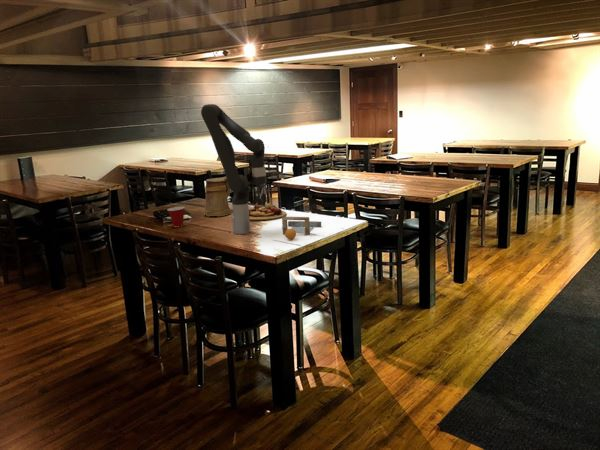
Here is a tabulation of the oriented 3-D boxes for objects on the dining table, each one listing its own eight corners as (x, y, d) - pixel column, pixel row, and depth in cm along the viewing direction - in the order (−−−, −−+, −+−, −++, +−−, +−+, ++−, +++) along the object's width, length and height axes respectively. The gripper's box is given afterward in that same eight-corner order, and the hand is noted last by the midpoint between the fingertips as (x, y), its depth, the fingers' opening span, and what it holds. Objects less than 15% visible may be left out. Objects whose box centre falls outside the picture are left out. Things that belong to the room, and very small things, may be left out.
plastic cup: (175, 224, 320) (173, 205, 318) (190, 224, 317) (188, 206, 314) (165, 228, 311) (163, 209, 308) (180, 228, 307) (178, 209, 304)
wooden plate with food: (242, 224, 313) (241, 211, 311) (235, 214, 343) (234, 202, 341) (291, 220, 321) (291, 207, 319) (280, 210, 351) (280, 198, 349)
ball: (283, 240, 268) (283, 229, 267) (287, 237, 274) (286, 227, 273) (294, 241, 267) (294, 230, 265) (297, 238, 272) (297, 227, 271)
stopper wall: (288, 226, 299) (287, 221, 298) (289, 225, 301) (288, 220, 300) (320, 227, 294) (320, 222, 293) (321, 226, 296) (321, 221, 295)
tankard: (198, 216, 341) (194, 180, 335) (221, 209, 359) (218, 175, 354) (218, 218, 331) (214, 181, 325) (241, 211, 350) (238, 176, 344)
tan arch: (308, 235, 277) (307, 218, 275) (282, 234, 281) (281, 217, 279) (310, 233, 280) (309, 217, 278) (284, 233, 284) (283, 216, 282)
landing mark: (286, 232, 285) (286, 232, 285) (293, 227, 297) (293, 227, 297) (308, 233, 281) (308, 233, 281) (314, 227, 293) (314, 227, 293)
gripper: (257, 173, 287) (260, 201, 291) (248, 177, 274) (251, 206, 277) (269, 173, 285) (272, 201, 289) (261, 176, 272) (264, 206, 275)
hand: (262, 203), depth 283 cm, fingers open, 8 cm apart
